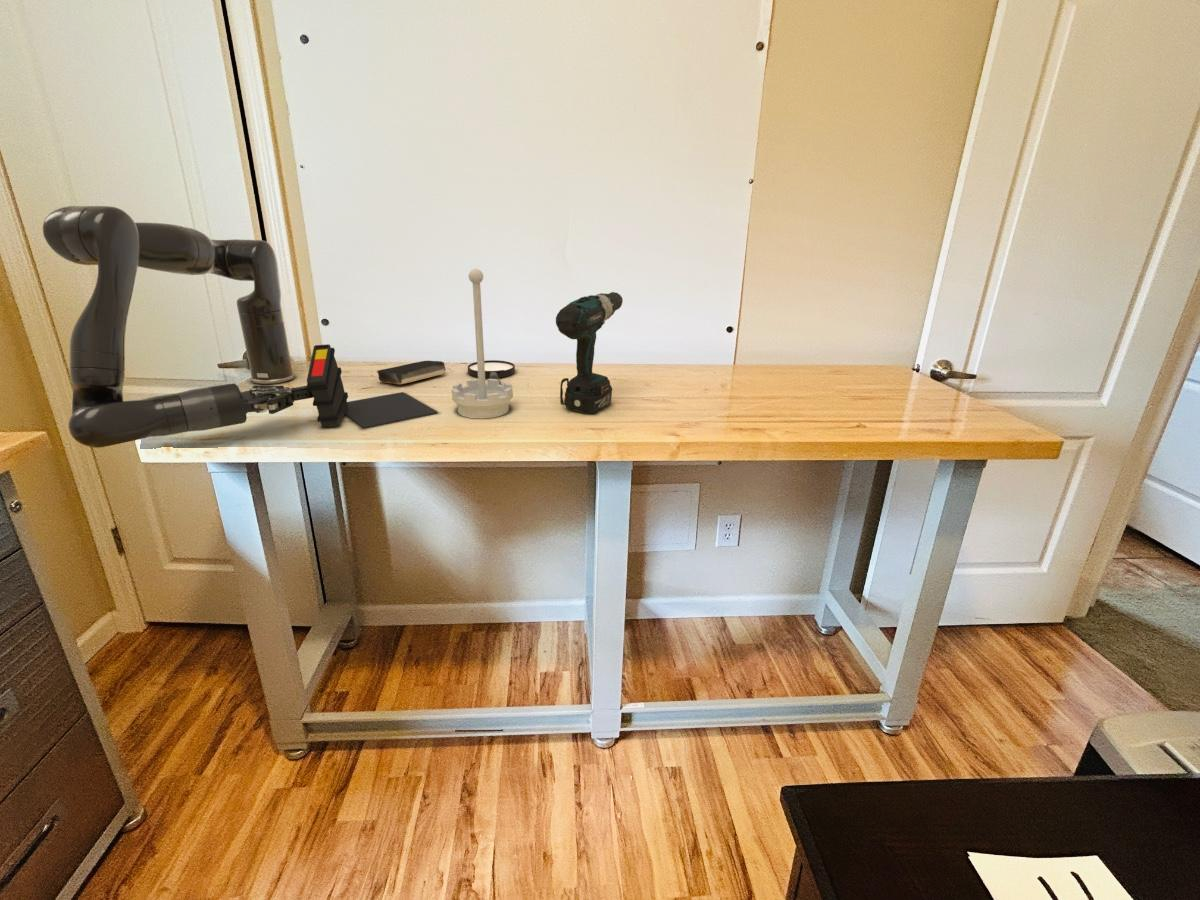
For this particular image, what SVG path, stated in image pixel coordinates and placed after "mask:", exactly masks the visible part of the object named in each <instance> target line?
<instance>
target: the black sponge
mask: <svg viewBox="0 0 1200 900" xmlns="http://www.w3.org/2000/svg"><path fill="white" fill-rule="evenodd" d="M376 373H377V375H378V380H379V381H380V382H382V383H387V384H393V385H405V384H408V383H409V384H410V383H413V382H417V381H420V380H424V379H428V378H429V379H430V378H432V377H433V378H434V377H437V376H440V375H444V374H445V373H446V365H445V362H444V361H441V360H421V361H417V362H411V363H407V364H402V365H398V366H393V367H388V368H383V369H379V370H377V371H376Z"/></svg>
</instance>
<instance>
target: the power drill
mask: <svg viewBox="0 0 1200 900" xmlns="http://www.w3.org/2000/svg"><path fill="white" fill-rule="evenodd" d="M622 295H623V293H622ZM622 295H621V294H620V293H618V292H615V291H611V292H609V293H603V292H601V293H597V294H591V295H587V296H581V297H579V298H577V299H575V300H573V301H570V302H569V303H568V304H566V305H565V306H564V307H563V308H561V309H560V310H559V311H558V313H556V316H555V325H556V327H557V330H558V332H559V333H560V334H562V335H564V336H566V337H567V339H570V340H576V352H575V362H576V372H577V373H576V375H575V376H574V377H572V378H571V379H569V378H568V377H565V378H564V377H563V378H562V379H561V381H560V382H559V383H558V384H559V385H560V387H559V388H560V389H559V403H560V405H561V406H565V409H567V410H568V411H569V410H570V411H573V412H578V413H582V414H596V413H598V412H600V411H602V410H603V409H604V408H606V407H607V406H609V405H610V404H611V403H612V398H613V397H612V395H613V387H612V385H611V381H610V379H609V377H608V376H606V375H603V374H600V373H596V372H593V366H594V358H595V346H596V340H597V332H598V331H599V330H600V329H602V327H603V326H604V325H605V324H606V321H607V320H609V319H610V318H611V317H612V316H613V315H614V314H615V312H616V311H617V310H619V309H620V308H621V307H622V305H623V303H624V302H623V296H622ZM565 382H566V386H567V387H566V388H565V392H564V389H563V385H564V383H565ZM563 395H564V396H563Z"/></svg>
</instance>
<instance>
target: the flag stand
mask: <svg viewBox="0 0 1200 900" xmlns="http://www.w3.org/2000/svg"><path fill="white" fill-rule="evenodd" d="M468 280H469V281H470V282H471V283H472V295H473V297H472V298H473V312H474V313H473V314H474V315H473V316H474V330H475V331H474V333H475V349H476V362H477V368H478V377H477V378H472V379H466V385H463V384H462V383H461V382H457V383H454V384H453V385H452V388H451V397H452V398H451V399H452V401H453V402H454V403H455V404H457V413H458V414H459V415H460V416H463V417H466V418H469V419H470V418H471V419H491V418H497V417H501V416H504V415H505V414H507V413H508V412H509V411H510V408H509V407H510V406H509V405H510V404H509V402H510V401H511V400H512V399H513V398H514V391H513V384H512V383H511V382H509V381H504V382H503V383H502V384H501V385H499V380H500V379H499V380H498V379H487V383H486V378H485V365H484V361H485V349H484V347H485V346H484V331H483V330H484V329H483V327H484V326H483V309H482V294H481V293H482V292H481V283H482V282H483V280H484V273H483V272H482V270H481V269H479V268H473V269H471V270H470V271H469V272H468Z"/></svg>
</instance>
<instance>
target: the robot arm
mask: <svg viewBox="0 0 1200 900" xmlns="http://www.w3.org/2000/svg"><path fill="white" fill-rule="evenodd" d="M42 235H43V238H44V239H45V241H46V243H47V245H48V246H49V247H50V248H51V250H52V251H54V253H56V254H57V255H58V256H59V257H60V258H63V259H65V260H66V261H68V262H71V263H74V264H77V265H83V266H97V278H96V283H95V286H94V289H93V291H92V293H91V296H90V298H89V300H88V301H87V304H86V306H85V307H84V309H83V310H82V312H81V313H80V315H79V317H78V318H77V320H76V322H75V324H74V326H73V328H72V330H71V333H70V339H69V377H70V382H71V386H72V401H71V402H72V403H71V404H72V405H71V415H70V418H69V419H68V424H67V425H68V431H69V434H70V435H71V437H72V438H73V439H74V440H75V441H76V442H77V443H78V444H80V445H83V446H86V447H88V448H97V449H99V448H106V447H111V446H115V445H121V444H125V443H129V442H134V441H138V440H143V439H147V438H157V437H166V436H167V437H168V436H172V435H173V436H174V435H179V434H185V433H189V432H190V433H191V432H200V431H201V432H202V431H208V430H212V429H213V430H214V429H219V428H224V427H225V428H226V427H230V426H235V425H243V424H245V423H246V422H247V419H248V418H247V414H248V413H256V414H261V413H266V412H268V415H274V414H277V413H279V412H281V411H283V410H286V409H288V408H290V407H293V406H294V403H295V401H303V400H309V399H312V398H313V399H314V397H313V395H312V392H311V391H307V389H306V387H307V385H303V386H297V387H288V386H285V385H272V384H280V383H286V382H289V381H291V380H293V379H294V378H295V375H294V372H293V367H292V360H291V354H290V349H289V345H288V344H289V343H288V338H287V337H288V336H287V332H286V326H285V321H284V316H283V311H282V303H281V301H282V291H281V284H280V276H279V266H278V260H277V255H276V253H275V250H274V248H273V246H272V245H271V243H269V242H267V241H266V240H262V239H236V238H235V239H211V238H210V237H209V236H208V235H206V234H205V233H203V232H202V231H200V230H198V229H194V228H191V227H188V226H182V225H178V224H173V223H172V224H171V223H163V222H135V221H134V219H133V218H132V216H130V214H128V213H127V212H126V211H125V210H123V209H121V208H119V207H115V206H108V205H69V206H63V207H62V206H61V207H60V208H57V209H54V210H53V211H51V212H49V214H48V215H47V216H46V217H45V219H44V221H43V224H42ZM138 268H143V269H147V270H153V271H158V272H165V273H169V274H177V275H187V276H202V275H206V274H212V275H214V276H215V275H216V276H219V277H223V278H227V279H230V280H234V281H240V282H242V281H243V282H253V291H251V292H249V294H246V295H244V296H241V297H240V296H239V297H238V299H236V307H237V313H238V317H239V323H240V327H241V332H242V337H243V342H244V346H245V352H246V355H245V356H244V359H245V364H246V368H247V369H248V371H250V377H251V378H250V379H251V382H252V383H254V385H252V387H250V388H249V389H248V390H244V391H241V389H240V387H239V386H238V385H237V384H236V383H227V384H220V385H213V386H204V387H199V388H193V389H192V388H191V389H188V390H185V391H180V392H174V393H168V394H160V395H154V396H150V397H146V398H142V399H134V400H124V393H123V388H124V384H125V377H126V376H125V375H126V373H125V372H126V357H125V356H126V346H125V345H126V331H127V323H128V322H127V321H128V317H129V311H130V308H131V307H130V306H131V303H132V297H133V293H134V288H135V283H136V277H137V273H138ZM255 384H257V385H255Z"/></svg>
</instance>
